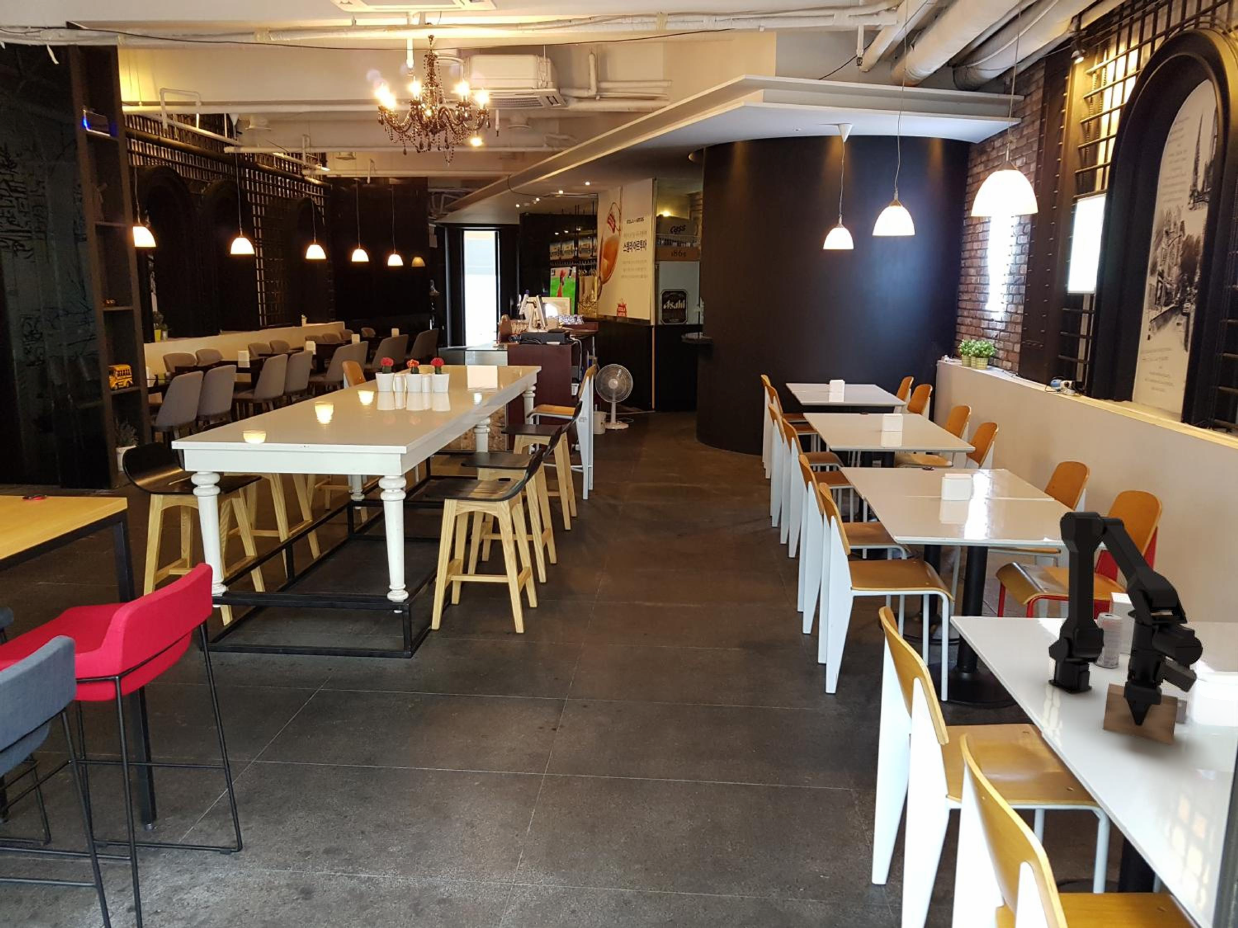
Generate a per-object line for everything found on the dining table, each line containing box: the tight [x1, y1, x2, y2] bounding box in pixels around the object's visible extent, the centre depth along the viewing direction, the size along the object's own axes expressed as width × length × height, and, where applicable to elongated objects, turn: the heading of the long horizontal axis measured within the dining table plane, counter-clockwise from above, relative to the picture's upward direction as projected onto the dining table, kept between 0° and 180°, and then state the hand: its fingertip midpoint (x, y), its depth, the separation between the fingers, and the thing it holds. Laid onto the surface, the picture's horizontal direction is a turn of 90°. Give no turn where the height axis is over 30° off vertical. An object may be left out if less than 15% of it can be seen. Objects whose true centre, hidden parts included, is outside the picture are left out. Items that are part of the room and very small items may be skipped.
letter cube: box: [1159, 686, 1188, 724], centre depth 188 cm, size 5×5×5 cm
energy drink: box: [1094, 612, 1124, 669], centre depth 214 cm, size 5×5×12 cm
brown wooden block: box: [1102, 682, 1178, 746], centre depth 180 cm, size 12×5×8 cm, turn 58°
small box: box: [1108, 591, 1135, 655], centre depth 225 cm, size 8×6×13 cm
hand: (1139, 719), depth 180 cm, fingers open, 6 cm apart
